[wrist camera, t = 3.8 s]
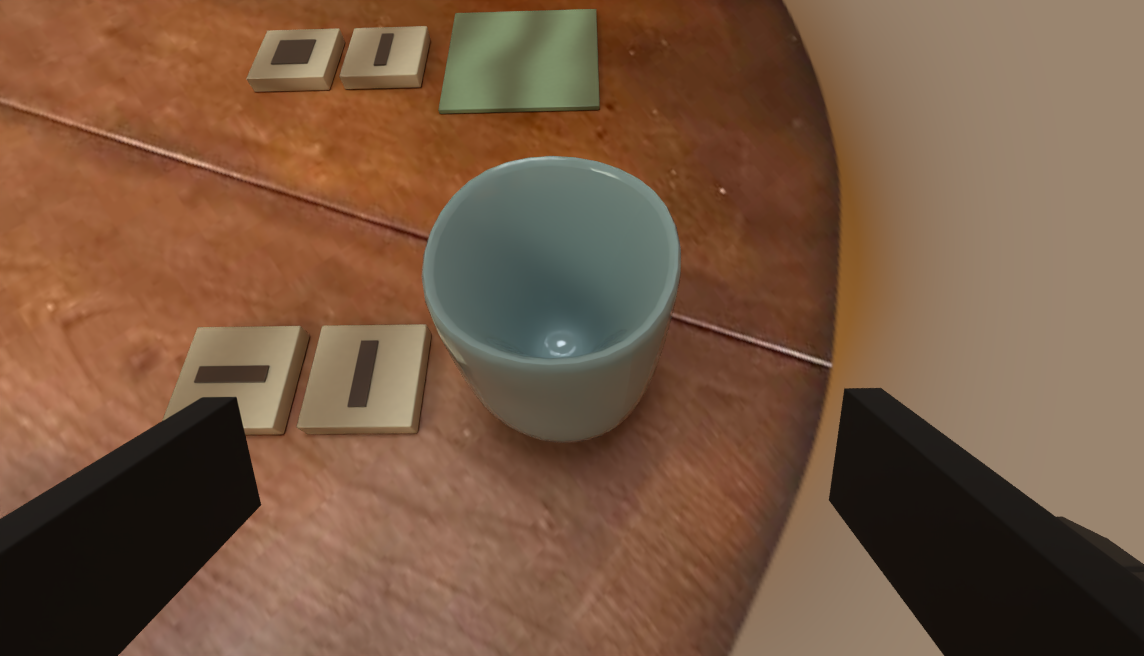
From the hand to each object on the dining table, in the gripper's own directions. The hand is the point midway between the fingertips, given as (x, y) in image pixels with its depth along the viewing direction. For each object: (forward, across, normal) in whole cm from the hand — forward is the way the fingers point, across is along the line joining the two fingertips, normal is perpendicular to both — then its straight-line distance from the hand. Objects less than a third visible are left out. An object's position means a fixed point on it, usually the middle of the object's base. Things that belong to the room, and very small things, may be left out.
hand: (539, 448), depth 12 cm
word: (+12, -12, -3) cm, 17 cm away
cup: (+12, 0, -4) cm, 13 cm away
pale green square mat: (+29, -9, +13) cm, 33 cm away
